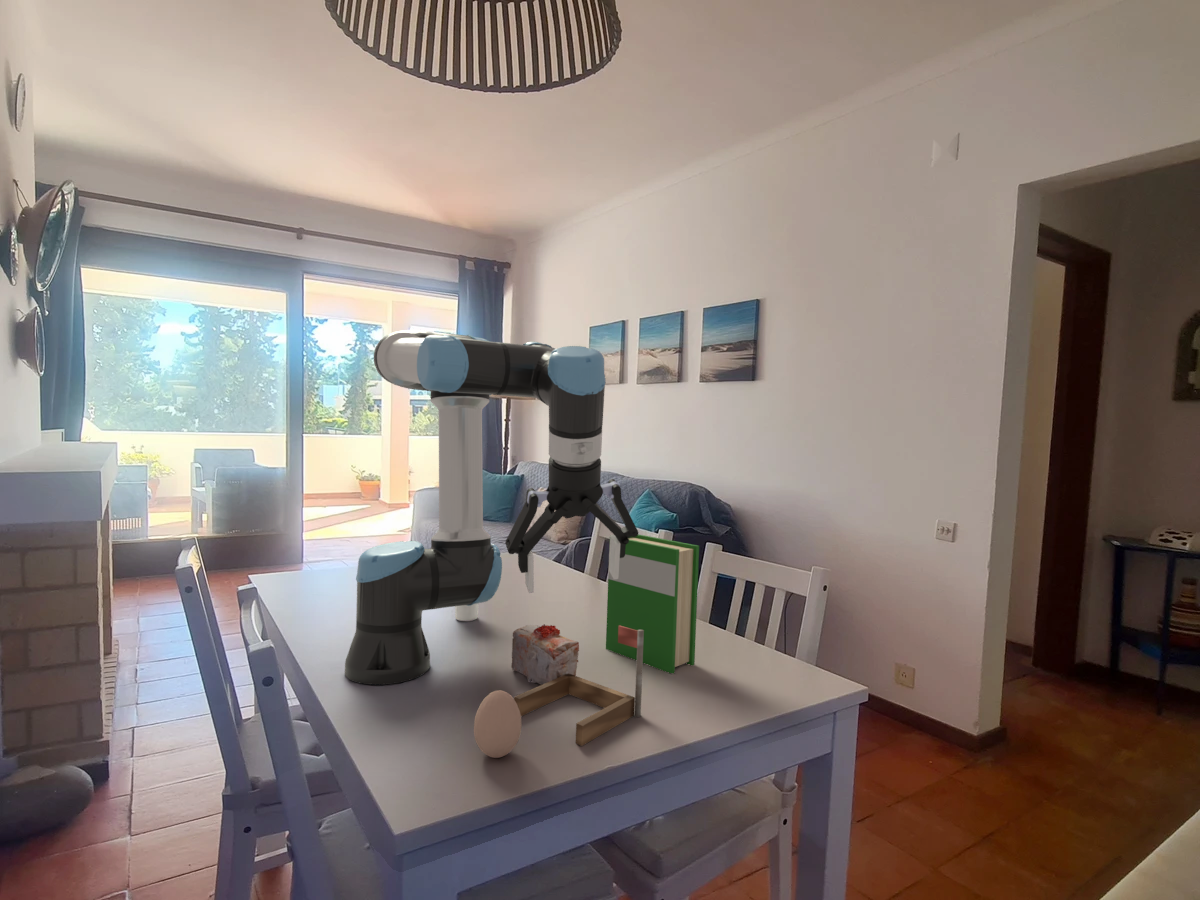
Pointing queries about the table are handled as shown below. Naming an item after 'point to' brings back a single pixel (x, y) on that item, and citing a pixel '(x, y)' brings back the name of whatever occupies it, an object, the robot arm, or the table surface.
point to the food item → (543, 653)
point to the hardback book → (655, 601)
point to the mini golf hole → (592, 695)
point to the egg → (497, 724)
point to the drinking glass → (466, 612)
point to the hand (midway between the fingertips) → (572, 581)
